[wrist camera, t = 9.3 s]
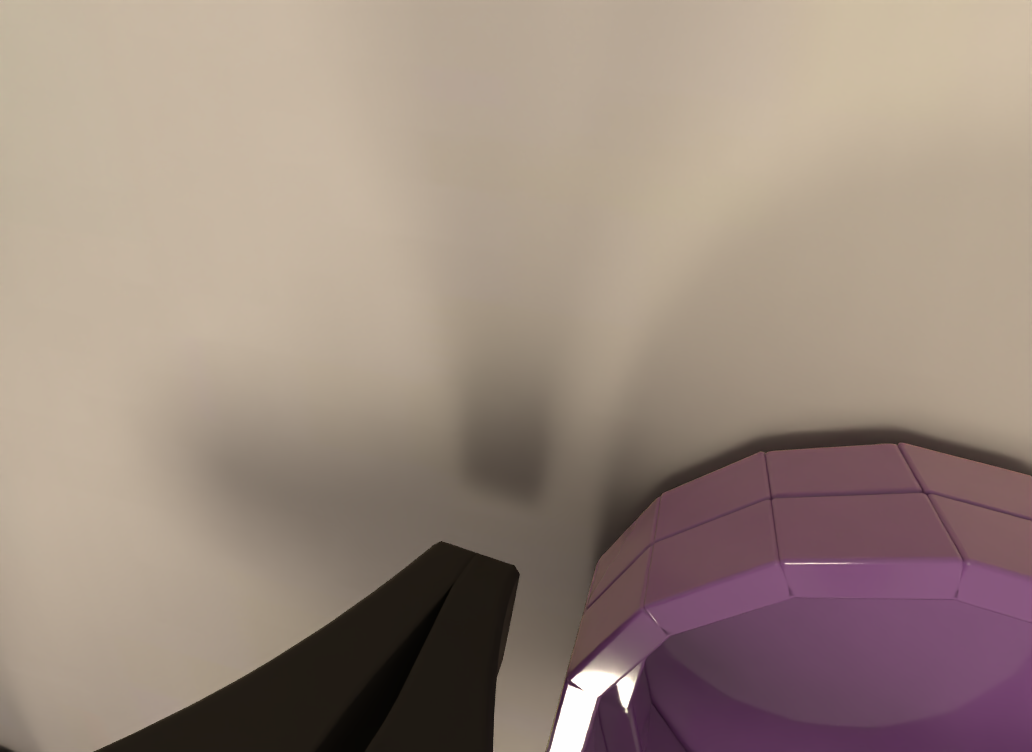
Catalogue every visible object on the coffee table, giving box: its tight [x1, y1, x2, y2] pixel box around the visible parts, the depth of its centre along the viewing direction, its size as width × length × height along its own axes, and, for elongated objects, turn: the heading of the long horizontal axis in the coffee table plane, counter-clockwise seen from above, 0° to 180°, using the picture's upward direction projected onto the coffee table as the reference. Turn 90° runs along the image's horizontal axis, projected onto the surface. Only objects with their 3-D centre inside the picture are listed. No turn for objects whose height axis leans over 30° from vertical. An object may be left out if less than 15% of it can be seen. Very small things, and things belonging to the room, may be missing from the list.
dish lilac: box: [545, 442, 1032, 752], centre depth 9 cm, size 8×8×3 cm
